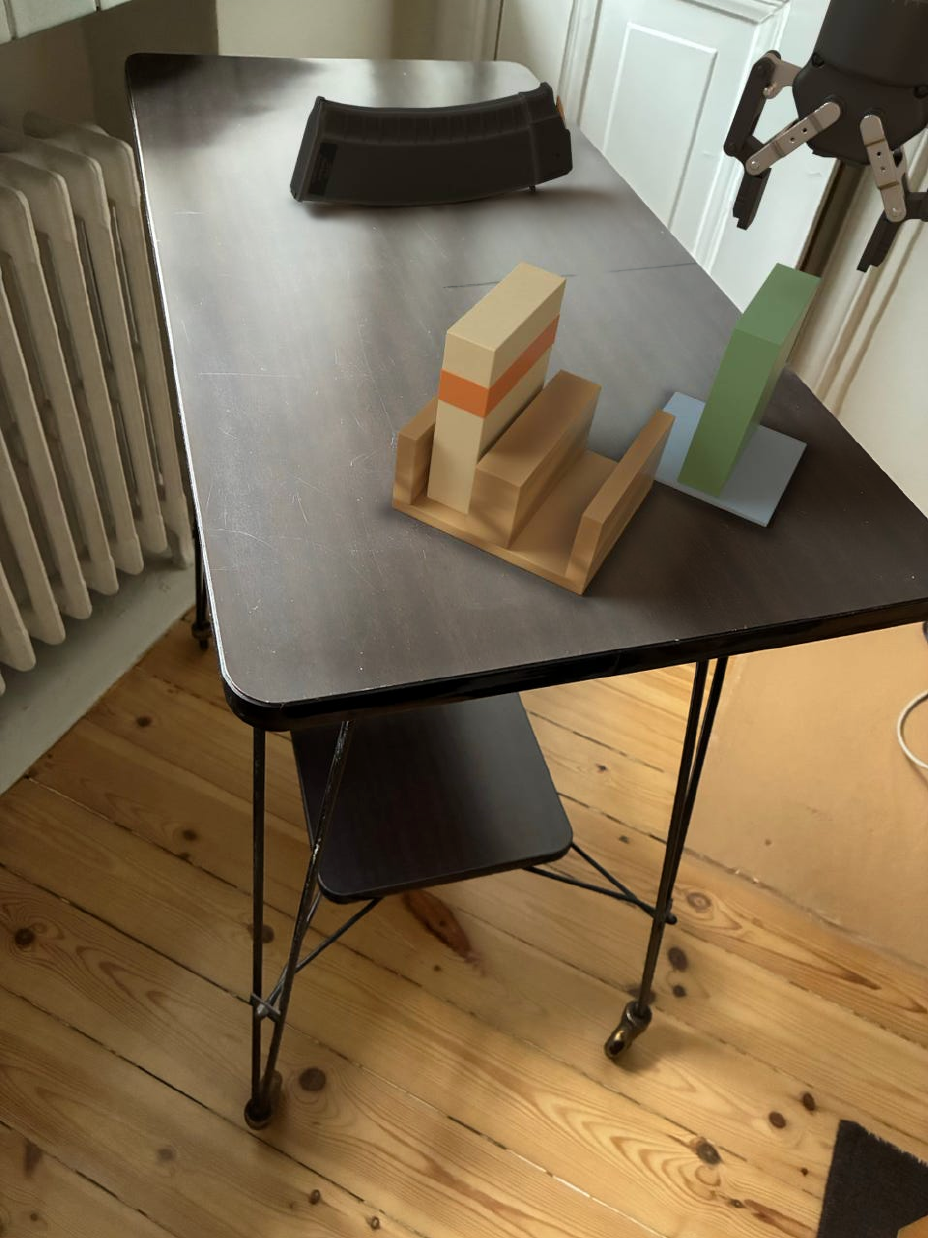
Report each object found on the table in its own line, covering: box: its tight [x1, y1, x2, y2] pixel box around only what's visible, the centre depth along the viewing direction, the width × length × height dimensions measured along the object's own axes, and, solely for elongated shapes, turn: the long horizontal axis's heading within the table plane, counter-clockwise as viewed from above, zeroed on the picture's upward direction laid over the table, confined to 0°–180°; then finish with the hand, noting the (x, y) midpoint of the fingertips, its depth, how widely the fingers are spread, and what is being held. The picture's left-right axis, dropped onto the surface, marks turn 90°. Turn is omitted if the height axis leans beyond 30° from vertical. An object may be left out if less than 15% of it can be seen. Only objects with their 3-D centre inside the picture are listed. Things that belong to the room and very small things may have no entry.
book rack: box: [391, 368, 676, 596], centre depth 73 cm, size 16×14×7 cm
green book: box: [677, 262, 822, 499], centre depth 76 cm, size 4×11×14 cm, turn 152°
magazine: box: [289, 81, 574, 207], centre depth 101 cm, size 17×3×30 cm
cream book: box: [427, 261, 568, 515], centre depth 70 cm, size 4×11×14 cm, turn 152°
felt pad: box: [654, 391, 808, 528], centre depth 81 cm, size 12×12×1 cm
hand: (803, 245), depth 67 cm, fingers open, 8 cm apart
